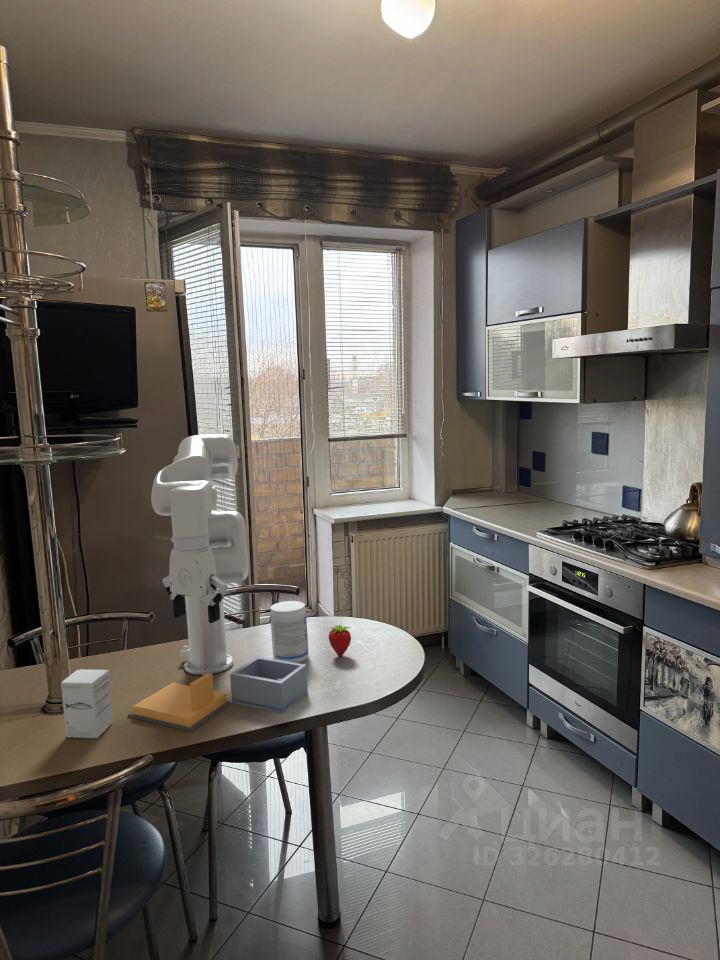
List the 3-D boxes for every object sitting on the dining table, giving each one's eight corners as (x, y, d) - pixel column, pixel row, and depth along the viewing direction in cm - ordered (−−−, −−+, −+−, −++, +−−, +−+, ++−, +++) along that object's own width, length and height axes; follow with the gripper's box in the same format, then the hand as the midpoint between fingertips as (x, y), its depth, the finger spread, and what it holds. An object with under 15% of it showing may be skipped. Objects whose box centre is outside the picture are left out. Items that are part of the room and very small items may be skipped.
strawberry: (346, 649, 188) (345, 614, 186) (355, 659, 181) (354, 623, 179) (326, 653, 186) (324, 618, 184) (334, 663, 179) (332, 626, 177)
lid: (133, 714, 153) (130, 680, 152) (173, 690, 165) (170, 658, 164) (189, 727, 146) (187, 691, 145) (226, 701, 158) (224, 668, 157)
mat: (127, 716, 153) (127, 714, 153) (170, 691, 166) (170, 688, 166) (190, 731, 145) (190, 728, 145) (230, 703, 158) (230, 701, 158)
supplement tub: (315, 659, 182) (312, 606, 180) (283, 668, 177) (280, 614, 175) (297, 649, 190) (295, 598, 188) (267, 657, 185) (263, 605, 183)
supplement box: (64, 738, 145) (59, 682, 143) (83, 721, 152) (78, 667, 150) (97, 740, 143) (91, 683, 142) (114, 722, 151) (109, 668, 149)
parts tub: (231, 702, 158) (230, 673, 157) (258, 683, 168) (257, 656, 167) (282, 713, 152) (281, 683, 151) (307, 692, 162) (306, 664, 161)
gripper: (148, 543, 148) (155, 619, 151) (212, 549, 141) (217, 629, 143) (172, 536, 155) (178, 608, 157) (234, 541, 147) (239, 617, 150)
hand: (197, 618), depth 150 cm, fingers open, 9 cm apart
